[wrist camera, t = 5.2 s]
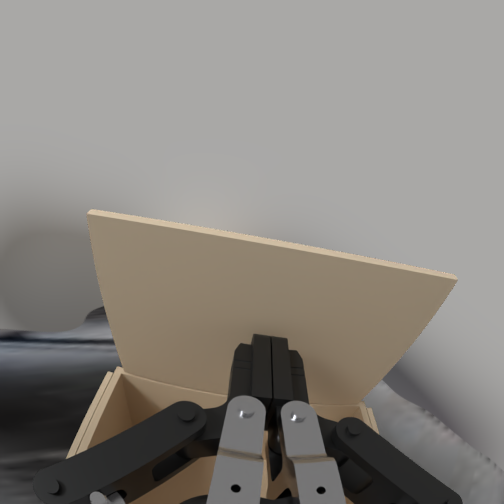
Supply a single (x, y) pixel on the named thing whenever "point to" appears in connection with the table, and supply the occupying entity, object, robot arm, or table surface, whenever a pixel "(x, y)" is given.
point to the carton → (158, 398)
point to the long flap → (255, 304)
